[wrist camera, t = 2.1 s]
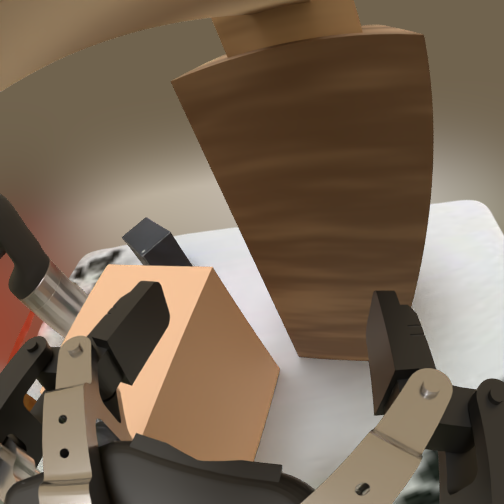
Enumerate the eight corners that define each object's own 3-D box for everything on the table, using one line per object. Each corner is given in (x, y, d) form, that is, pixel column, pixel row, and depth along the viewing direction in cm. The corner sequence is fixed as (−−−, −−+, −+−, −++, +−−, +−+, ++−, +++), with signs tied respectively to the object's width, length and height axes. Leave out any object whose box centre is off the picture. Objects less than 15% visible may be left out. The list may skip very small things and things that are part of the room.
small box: (200, 272, 50) (172, 230, 43) (174, 298, 47) (141, 258, 40) (172, 252, 56) (146, 214, 49) (149, 274, 54) (119, 237, 47)
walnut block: (394, 361, 28) (423, 34, 7) (298, 356, 33) (170, 81, 12) (394, 269, 37) (378, 24, 16) (315, 270, 42) (248, 44, 20)
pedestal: (249, 473, 24) (132, 463, 11) (166, 443, 29) (39, 392, 16) (279, 369, 33) (212, 266, 19) (199, 355, 38) (108, 264, 24)
